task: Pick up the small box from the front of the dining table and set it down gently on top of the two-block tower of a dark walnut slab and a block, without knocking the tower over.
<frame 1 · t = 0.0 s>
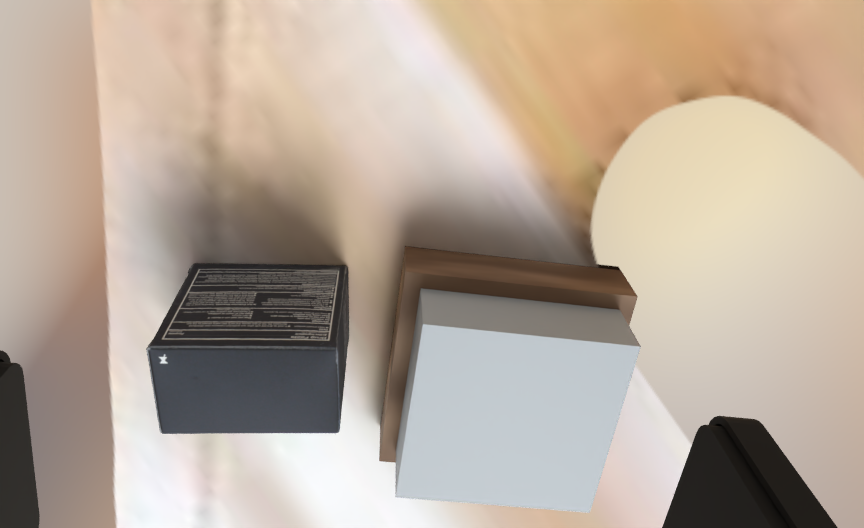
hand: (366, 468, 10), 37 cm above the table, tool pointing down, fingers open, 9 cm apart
small box: (273, 303, 51), on the table
tower base: (494, 347, 53), on the table
tower top: (503, 383, 49), point 4 cm above the table
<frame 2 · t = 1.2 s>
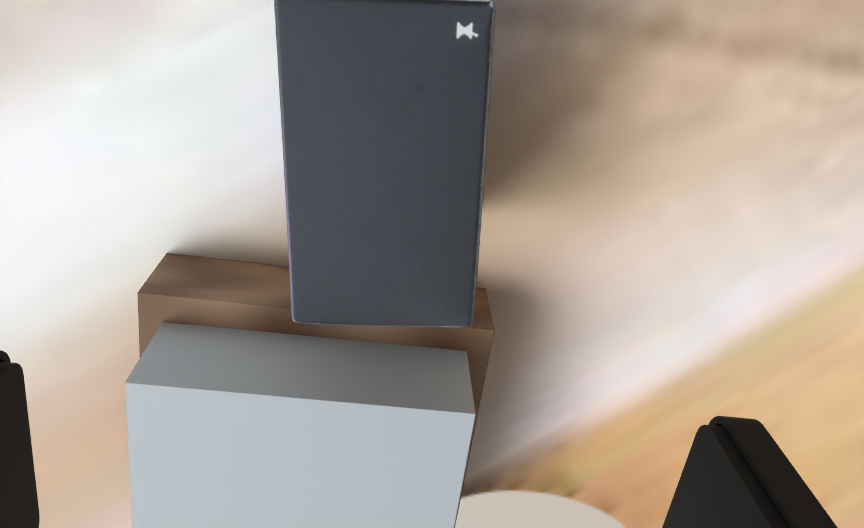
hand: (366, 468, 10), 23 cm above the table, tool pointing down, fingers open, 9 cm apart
small box: (391, 98, 31), on the table
tower base: (318, 395, 38), on the table
tower top: (308, 456, 34), point 4 cm above the table
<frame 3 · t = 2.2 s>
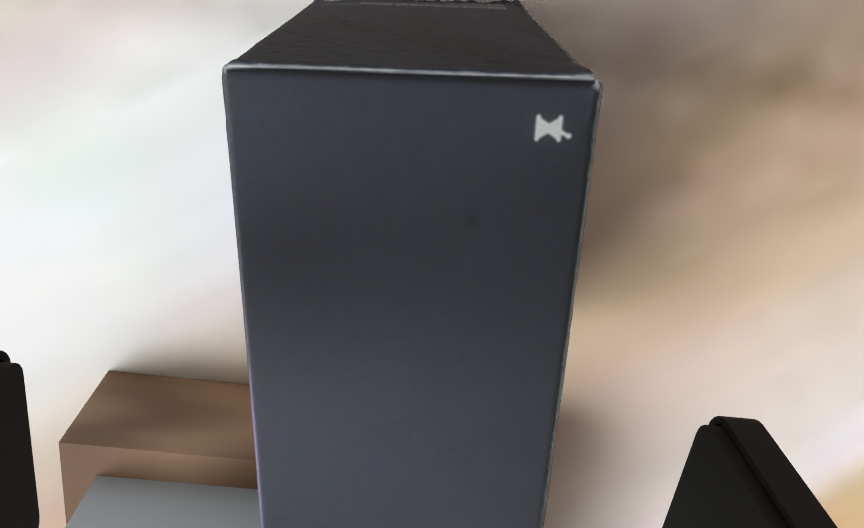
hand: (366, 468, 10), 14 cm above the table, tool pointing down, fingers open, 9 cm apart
small box: (410, 172, 23), on the table
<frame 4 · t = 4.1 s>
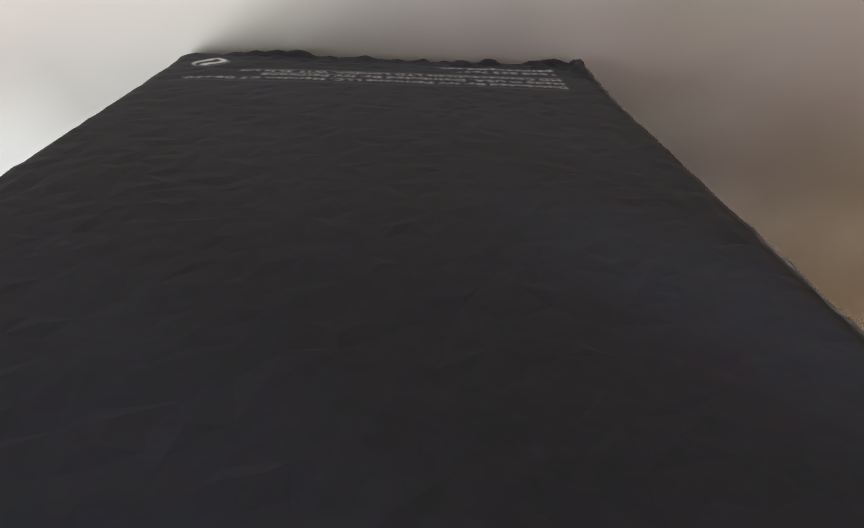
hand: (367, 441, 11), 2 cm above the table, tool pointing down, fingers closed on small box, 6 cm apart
small box: (374, 351, 13), on the table, touching gripper
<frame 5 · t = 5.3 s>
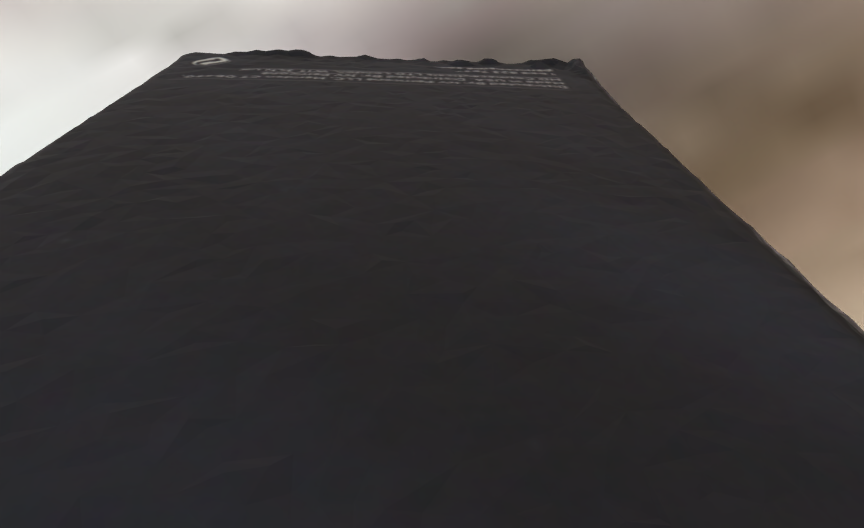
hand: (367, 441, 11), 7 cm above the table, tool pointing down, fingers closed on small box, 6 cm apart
small box: (374, 350, 13), point 5 cm above the table, touching gripper
when the fingers open (12 cm above the table, at t = 9.7 s): small box drops 2 cm, resting on tower top.
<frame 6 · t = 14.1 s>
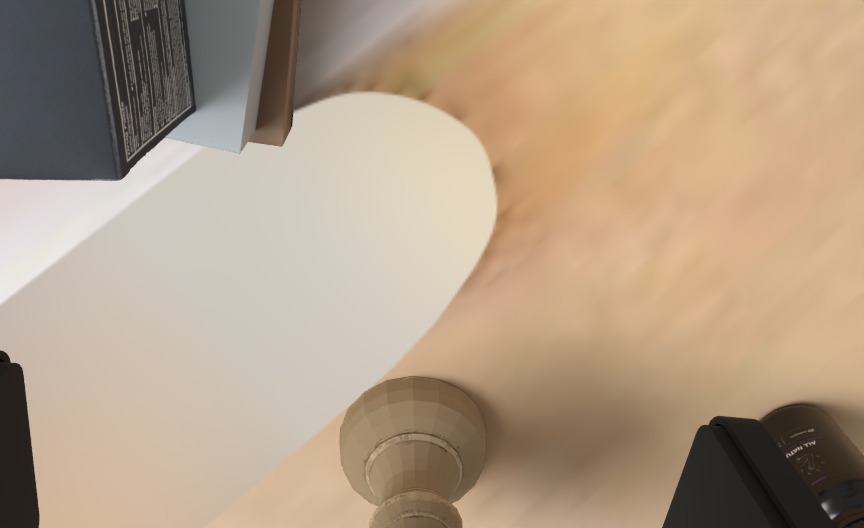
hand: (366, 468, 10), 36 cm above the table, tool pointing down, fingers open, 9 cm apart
tan wooden rounded piece: (413, 435, 55), on the table
supplement bottle: (786, 436, 57), on the table
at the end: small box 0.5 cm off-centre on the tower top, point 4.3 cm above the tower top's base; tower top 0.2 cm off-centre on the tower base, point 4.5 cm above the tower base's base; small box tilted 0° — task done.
